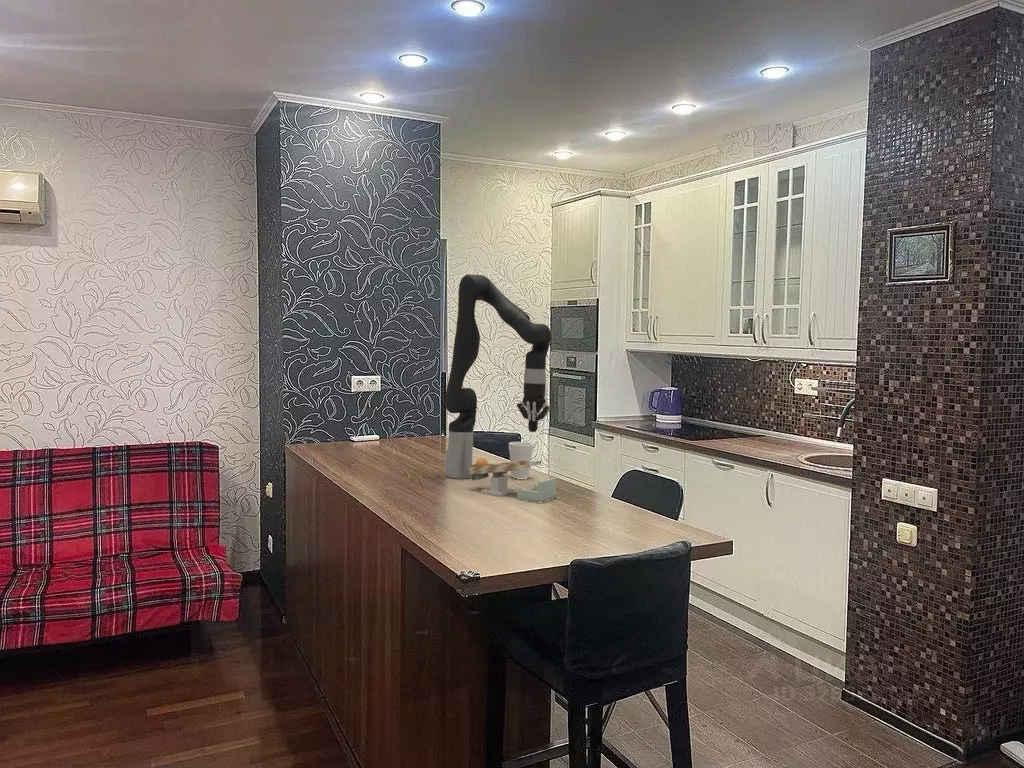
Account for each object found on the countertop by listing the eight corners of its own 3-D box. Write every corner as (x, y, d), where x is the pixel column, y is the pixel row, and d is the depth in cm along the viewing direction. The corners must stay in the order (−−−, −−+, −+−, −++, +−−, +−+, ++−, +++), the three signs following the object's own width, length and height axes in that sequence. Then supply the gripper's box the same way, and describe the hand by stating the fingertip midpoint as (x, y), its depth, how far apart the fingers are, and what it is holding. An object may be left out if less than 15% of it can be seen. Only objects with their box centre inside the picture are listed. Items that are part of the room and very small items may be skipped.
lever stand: (480, 493, 268) (481, 476, 267) (496, 488, 276) (497, 472, 276) (500, 496, 263) (501, 480, 263) (516, 491, 272) (516, 475, 271)
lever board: (471, 480, 271) (469, 465, 272) (494, 474, 284) (493, 460, 284) (519, 476, 261) (517, 460, 261) (542, 470, 273) (540, 455, 274)
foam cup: (518, 481, 290) (519, 446, 289) (502, 476, 297) (503, 442, 296) (537, 478, 296) (538, 444, 295) (521, 474, 303) (522, 441, 302)
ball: (474, 470, 272) (473, 458, 272) (480, 468, 276) (479, 457, 276) (483, 469, 270) (482, 458, 270) (490, 468, 274) (489, 456, 274)
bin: (517, 499, 260) (517, 478, 259) (532, 494, 268) (533, 474, 268) (540, 503, 255) (541, 482, 255) (555, 498, 264) (556, 477, 263)
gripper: (512, 380, 271) (510, 430, 272) (546, 383, 264) (544, 434, 265) (524, 380, 277) (522, 428, 279) (557, 382, 270) (554, 432, 272)
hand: (532, 431), depth 272 cm, fingers closed
